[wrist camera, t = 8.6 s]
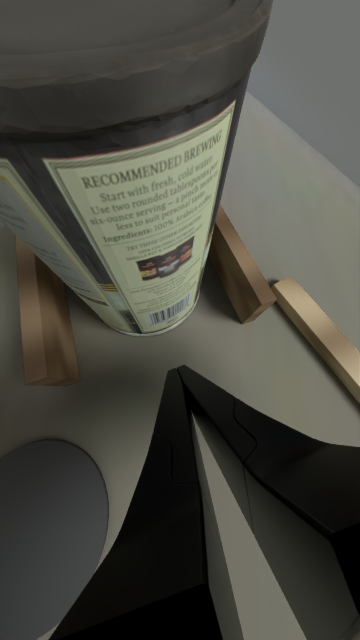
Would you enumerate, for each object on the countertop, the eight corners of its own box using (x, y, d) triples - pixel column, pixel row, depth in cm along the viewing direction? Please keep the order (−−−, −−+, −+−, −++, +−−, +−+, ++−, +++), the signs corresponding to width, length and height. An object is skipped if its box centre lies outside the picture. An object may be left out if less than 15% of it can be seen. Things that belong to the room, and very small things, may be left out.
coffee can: (136, 227, 20) (61, -85, 7) (219, 273, 18) (334, -32, 5) (65, 297, 17) (-325, -31, 4) (157, 361, 15) (37, 161, 2)
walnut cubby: (254, 320, 17) (277, 299, 13) (64, 386, 14) (24, 384, 10) (192, 204, 21) (196, 164, 18) (44, 238, 19) (12, 202, 15)
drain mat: (124, 586, 11) (121, 594, 10) (-54, 679, 9) (-64, 691, 9) (94, 419, 13) (91, 419, 13) (-44, 471, 12) (-51, 474, 12)
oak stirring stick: (400, 423, 14) (427, 427, 13) (383, 438, 14) (408, 444, 12) (281, 284, 18) (290, 275, 17) (265, 293, 18) (273, 284, 17)
